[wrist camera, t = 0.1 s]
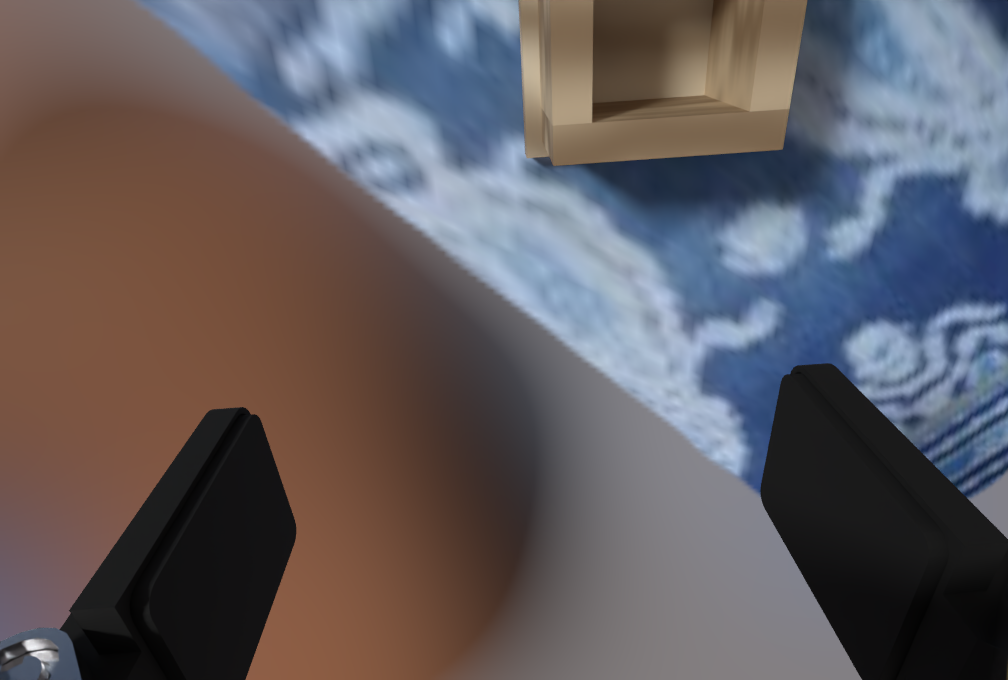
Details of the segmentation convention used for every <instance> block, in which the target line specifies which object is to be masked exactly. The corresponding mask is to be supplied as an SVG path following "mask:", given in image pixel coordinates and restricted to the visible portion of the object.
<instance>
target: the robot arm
mask: <svg viewBox="0 0 1008 680" xmlns="http://www.w3.org/2000/svg"><path fill="white" fill-rule="evenodd" d="M761 499H762V503H763V506H764V508H765V510H766V511H767V513H768V515H769V517H770V519H771V520H772V522H773V524H774V526H775V527H776V529H777V531H778V533H779V534H780V536H781V538H782V540H783V542H784V543H785V545H786V547H787V548H788V550H789V552H790V554H791V556H792V557H793V559H794V561H795V563H796V564H797V566H798V568H799V569H800V571H801V573H802V575H803V577H804V579H805V580H806V582H807V584H808V586H809V587H810V589H811V591H812V592H813V594H814V596H815V598H816V599H817V601H818V603H819V605H820V607H821V608H822V610H823V612H824V613H825V615H826V617H827V619H828V621H829V623H830V624H831V626H832V628H833V629H834V631H835V633H836V635H837V637H838V638H839V640H840V642H841V644H842V645H843V647H844V649H845V651H846V652H847V654H848V656H849V657H850V660H851V661H852V663H853V665H854V667H855V668H856V670H857V672H858V673H859V675H860V677H861V678H862V680H1008V539H1007V538H1006V537H1005V536H1004V535H1003V534H1002V533H1001V532H1000V531H999V530H998V529H997V528H996V527H995V526H994V525H993V524H992V523H991V522H990V521H989V520H988V519H987V518H986V517H985V516H984V515H983V514H982V513H981V512H980V511H979V510H978V509H977V508H976V507H975V506H974V505H973V504H972V503H971V502H970V501H969V500H968V499H967V498H966V497H965V496H964V495H963V494H962V493H961V492H960V491H959V490H958V489H957V488H956V487H955V486H954V485H953V484H952V483H951V482H950V481H949V480H948V479H947V478H946V477H945V476H944V475H943V474H942V473H941V472H940V471H939V470H938V469H937V468H936V467H935V466H934V465H933V464H932V463H931V462H930V461H929V460H928V459H927V458H926V457H925V456H924V455H923V454H922V453H921V452H920V451H919V450H918V449H917V448H916V447H915V446H914V445H913V444H912V443H911V442H910V441H909V440H908V439H907V438H906V437H905V436H904V435H903V434H902V433H901V432H900V431H899V430H898V429H897V428H896V427H895V426H894V425H893V424H892V423H891V422H890V421H889V420H888V419H887V418H886V417H885V416H884V415H883V414H882V413H881V412H880V411H879V410H878V409H877V408H876V407H875V406H874V405H873V404H872V403H871V402H870V401H869V400H868V399H867V398H866V397H865V396H864V395H863V394H862V393H861V392H860V391H859V390H858V389H857V388H856V387H855V386H854V385H853V384H852V383H851V382H850V381H849V380H848V379H847V378H846V377H845V376H844V375H843V374H842V373H841V372H840V371H839V370H838V369H837V368H836V367H835V366H834V365H832V364H828V363H826V364H813V365H799V366H796V367H794V368H793V370H792V371H791V374H788V375H785V376H784V377H783V378H782V381H781V385H780V390H779V395H778V400H777V406H776V411H775V416H774V421H773V426H772V431H771V436H770V442H769V447H768V452H767V457H766V462H765V467H764V473H763V478H762V483H761ZM295 539H296V523H295V520H294V516H293V513H292V510H291V508H290V505H289V502H288V499H287V496H286V493H285V490H284V487H283V484H282V481H281V479H280V475H279V472H278V469H277V467H276V464H275V461H274V458H273V455H272V452H271V449H270V446H269V443H268V441H267V437H266V434H265V431H264V428H263V425H262V423H261V420H260V418H259V417H258V416H257V415H255V414H254V415H251V414H250V412H249V411H248V410H247V409H246V408H243V407H240V408H226V409H214V410H210V411H209V412H208V413H207V414H206V415H205V416H204V418H203V419H202V421H201V422H200V424H199V425H198V426H197V428H196V429H195V431H194V432H193V434H192V435H191V436H190V438H189V439H188V441H187V442H186V444H185V445H184V447H183V448H182V449H181V451H180V452H179V454H178V455H177V456H176V458H175V459H174V461H173V462H172V464H171V465H170V467H169V468H168V469H167V471H166V472H165V474H164V475H163V477H162V478H161V479H160V481H159V483H158V484H157V485H156V487H155V488H154V489H153V491H152V492H151V494H150V495H149V497H148V498H147V500H146V501H145V503H144V504H143V505H142V507H141V508H140V510H139V511H138V512H137V514H136V515H135V517H134V518H133V520H132V521H131V523H130V524H129V525H128V527H127V528H126V530H125V531H124V533H123V534H122V536H121V537H120V539H119V540H118V541H117V543H116V544H115V545H114V547H113V548H112V550H111V551H110V553H109V554H108V556H107V557H106V559H105V560H104V561H103V563H102V564H101V566H100V567H99V569H98V570H97V571H96V573H95V574H94V576H93V577H92V578H91V580H90V581H89V583H88V584H87V586H86V587H85V589H84V590H83V591H82V593H81V594H80V596H79V597H78V599H77V600H76V602H75V603H74V604H73V606H72V607H71V609H70V610H69V611H70V612H71V614H70V616H69V617H68V619H67V620H66V622H65V623H64V624H63V626H62V627H61V629H60V630H58V629H56V628H37V629H33V630H29V631H25V632H21V633H19V634H16V635H14V636H12V637H10V638H7V639H5V640H3V641H1V642H0V680H245V679H246V676H247V673H248V671H249V668H250V665H251V662H252V659H253V657H254V654H255V651H256V649H257V646H258V643H259V640H260V637H261V635H262V632H263V629H264V626H265V623H266V621H267V618H268V615H269V612H270V610H271V607H272V604H273V601H274V599H275V596H276V593H277V590H278V587H279V585H280V582H281V579H282V576H283V573H284V571H285V568H286V565H287V562H288V560H289V557H290V554H291V551H292V548H293V546H294V543H295Z"/></svg>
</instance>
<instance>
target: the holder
mask: <svg viewBox="0 0 1008 680" xmlns="http://www.w3.org/2000/svg"><path fill="white" fill-rule="evenodd" d="M806 6H807V0H519V20H520V42H521V65H522V88H523V111H524V134H525V154H526V157H527V158H536V157H550V159H551V161H552V164H553V166H558V165H572V164H586V163H601V162H615V161H629V160H643V159H657V158H671V157H686V156H700V155H714V154H728V153H742V152H756V151H770V150H783V145H784V139H785V133H786V127H787V121H788V114H789V108H790V102H791V96H792V90H793V84H794V78H795V72H796V66H797V60H798V54H799V48H800V42H801V36H802V30H803V24H804V18H805V12H806Z"/></svg>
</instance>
